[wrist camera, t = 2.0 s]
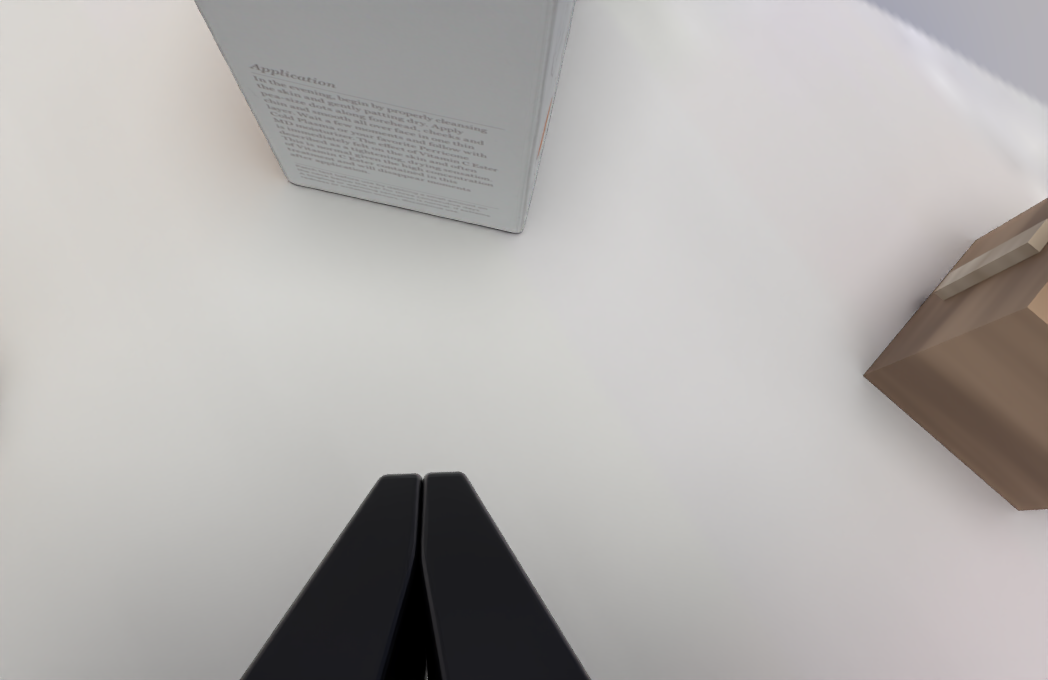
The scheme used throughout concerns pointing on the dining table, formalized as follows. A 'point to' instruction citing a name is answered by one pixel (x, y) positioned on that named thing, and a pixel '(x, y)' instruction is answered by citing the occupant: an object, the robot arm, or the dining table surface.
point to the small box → (402, 96)
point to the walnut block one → (983, 360)
